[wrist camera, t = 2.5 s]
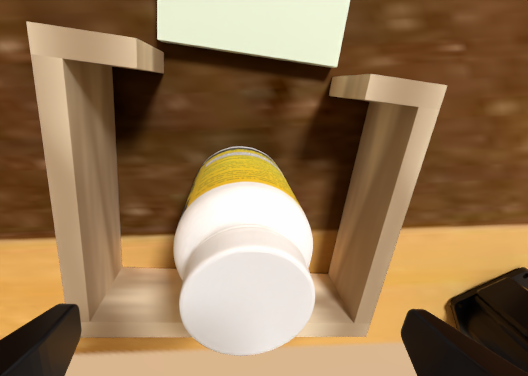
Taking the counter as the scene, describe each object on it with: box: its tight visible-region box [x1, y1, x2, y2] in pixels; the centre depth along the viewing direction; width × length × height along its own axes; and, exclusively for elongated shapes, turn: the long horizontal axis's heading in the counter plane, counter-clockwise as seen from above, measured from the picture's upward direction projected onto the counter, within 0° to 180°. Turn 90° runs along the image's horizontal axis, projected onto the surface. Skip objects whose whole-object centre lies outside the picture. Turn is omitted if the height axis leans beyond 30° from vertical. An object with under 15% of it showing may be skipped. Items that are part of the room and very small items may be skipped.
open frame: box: [27, 22, 447, 338], centre depth 15 cm, size 16×14×4 cm
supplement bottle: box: [173, 146, 315, 356], centre depth 13 cm, size 5×5×10 cm
